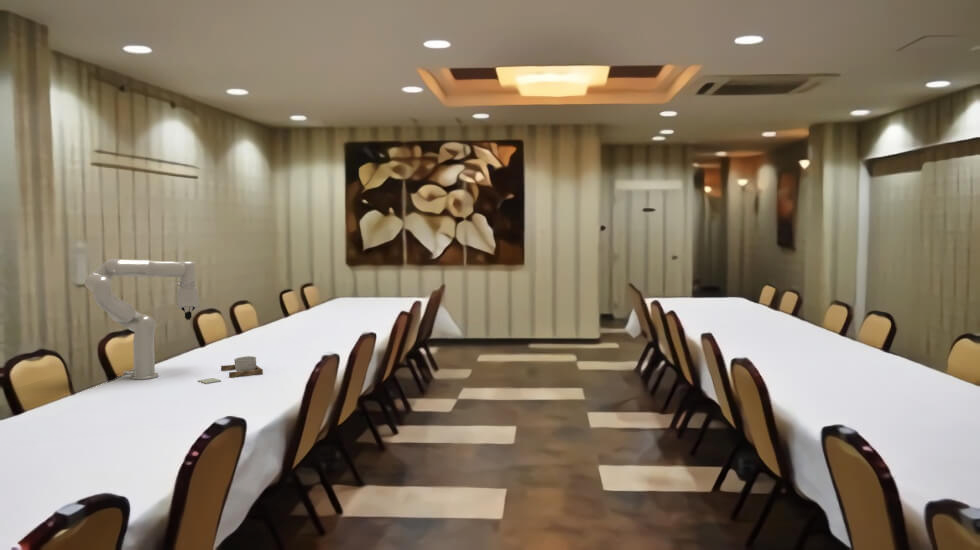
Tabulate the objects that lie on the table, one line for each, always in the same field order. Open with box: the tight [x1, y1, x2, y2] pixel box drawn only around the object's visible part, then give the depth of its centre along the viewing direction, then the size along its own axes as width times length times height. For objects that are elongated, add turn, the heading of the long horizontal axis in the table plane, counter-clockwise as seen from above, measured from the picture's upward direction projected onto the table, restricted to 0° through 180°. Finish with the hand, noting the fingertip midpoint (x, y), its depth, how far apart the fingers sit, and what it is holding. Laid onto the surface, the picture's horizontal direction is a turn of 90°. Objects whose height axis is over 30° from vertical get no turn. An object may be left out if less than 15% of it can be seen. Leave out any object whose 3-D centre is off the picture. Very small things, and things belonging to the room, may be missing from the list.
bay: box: [220, 364, 264, 379], centre depth 371 cm, size 16×20×2 cm
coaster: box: [197, 377, 222, 385], centre depth 349 cm, size 8×8×1 cm
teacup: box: [233, 355, 257, 372], centre depth 371 cm, size 14×11×8 cm
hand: (188, 319), depth 371 cm, fingers closed
